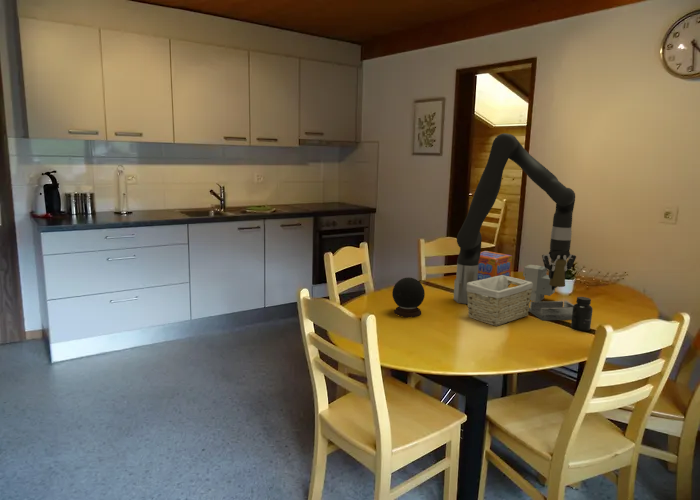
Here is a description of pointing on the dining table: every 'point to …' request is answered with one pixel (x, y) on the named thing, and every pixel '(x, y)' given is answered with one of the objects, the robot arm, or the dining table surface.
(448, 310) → the dining table surface
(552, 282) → the cork
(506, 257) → the game box
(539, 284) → the circuit breaker
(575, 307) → the supplement bottle
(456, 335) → the dining table surface
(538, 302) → the grey wooden tray
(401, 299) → the black ball on stand
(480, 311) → the storage basket
